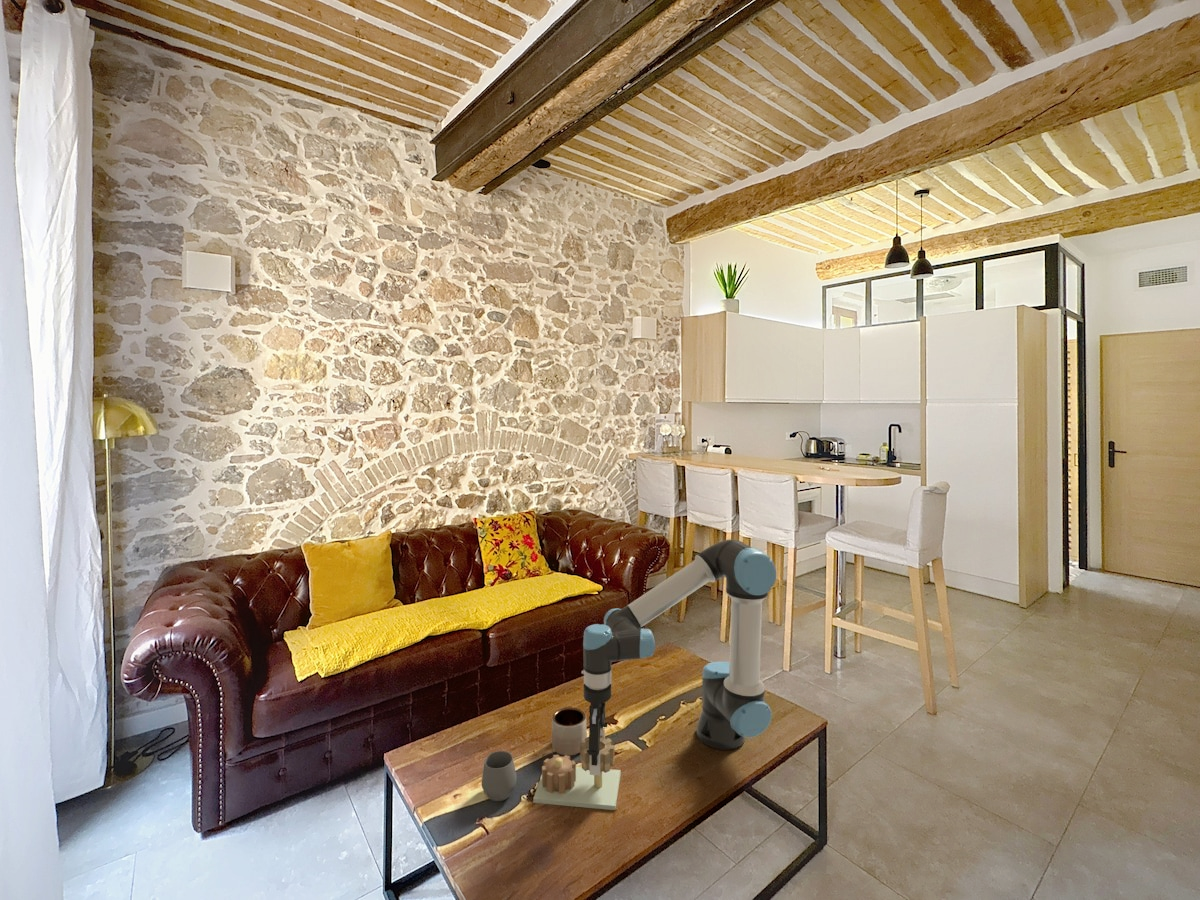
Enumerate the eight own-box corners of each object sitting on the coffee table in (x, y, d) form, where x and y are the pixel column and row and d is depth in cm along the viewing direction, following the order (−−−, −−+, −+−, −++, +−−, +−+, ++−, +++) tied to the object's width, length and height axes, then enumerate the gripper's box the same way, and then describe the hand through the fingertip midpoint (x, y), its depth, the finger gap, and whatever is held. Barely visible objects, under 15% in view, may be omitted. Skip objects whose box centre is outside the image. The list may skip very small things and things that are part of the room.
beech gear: (615, 753, 153) (615, 736, 152) (612, 775, 144) (612, 757, 143) (583, 750, 154) (583, 734, 154) (577, 772, 145) (577, 754, 145)
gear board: (620, 774, 156) (620, 748, 155) (615, 810, 142) (615, 782, 141) (545, 767, 159) (545, 742, 158) (533, 802, 145) (532, 775, 144)
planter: (582, 759, 163) (582, 728, 162) (547, 754, 165) (547, 724, 164) (590, 737, 173) (590, 708, 172) (557, 733, 175) (557, 705, 175)
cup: (500, 812, 142) (499, 775, 141) (474, 798, 147) (473, 763, 146) (524, 790, 150) (523, 755, 149) (498, 777, 155) (497, 744, 154)
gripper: (589, 663, 158) (589, 736, 160) (576, 704, 137) (577, 788, 139) (615, 665, 157) (615, 738, 159) (606, 706, 136) (606, 791, 138)
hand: (597, 762), depth 149 cm, fingers closed on beech gear, 9 cm apart
